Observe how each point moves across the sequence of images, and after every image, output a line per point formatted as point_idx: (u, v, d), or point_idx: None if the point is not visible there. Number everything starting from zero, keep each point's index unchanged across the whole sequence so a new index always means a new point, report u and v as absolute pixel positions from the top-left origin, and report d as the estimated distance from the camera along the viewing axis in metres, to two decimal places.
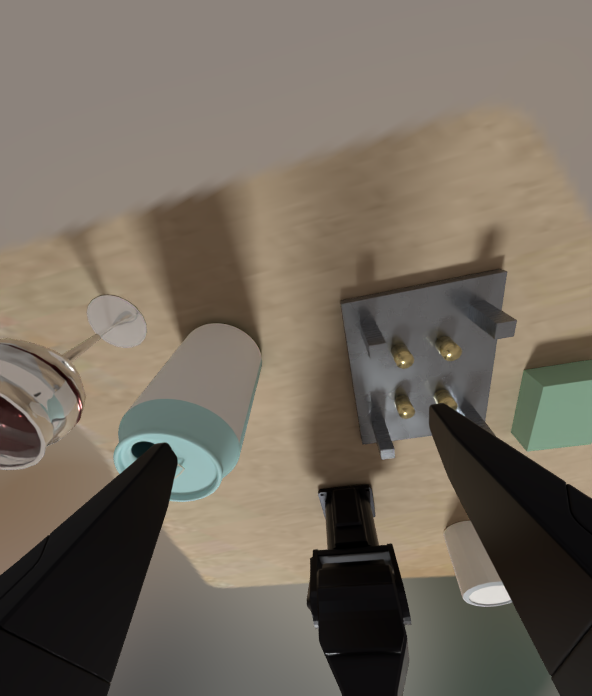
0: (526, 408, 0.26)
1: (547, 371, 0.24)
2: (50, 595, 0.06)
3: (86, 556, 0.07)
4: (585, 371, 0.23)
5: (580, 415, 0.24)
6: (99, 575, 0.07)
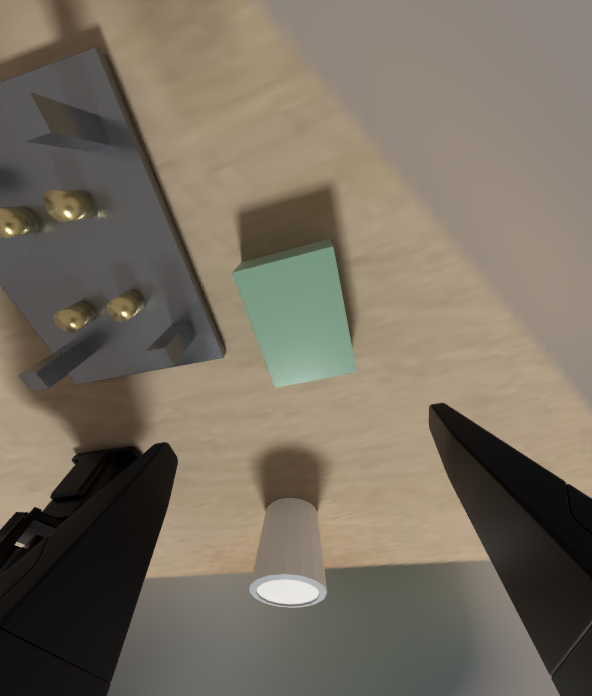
0: None
1: (263, 258, 0.16)
2: (50, 595, 0.06)
3: (85, 555, 0.07)
4: (303, 250, 0.15)
5: (315, 323, 0.16)
6: (99, 575, 0.07)
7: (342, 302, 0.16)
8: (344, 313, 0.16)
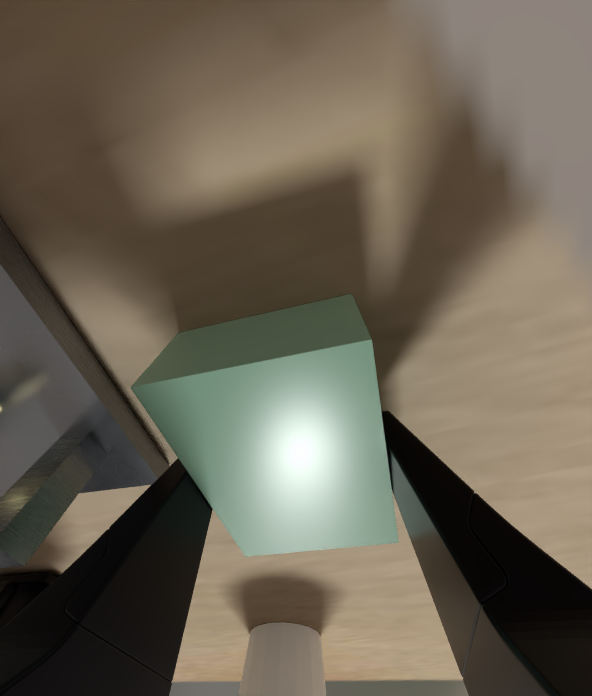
0: None
1: (214, 338, 0.08)
2: (120, 591, 0.06)
3: (146, 550, 0.06)
4: (298, 331, 0.07)
5: (322, 475, 0.08)
6: (160, 571, 0.07)
7: (382, 444, 0.07)
8: (385, 461, 0.07)
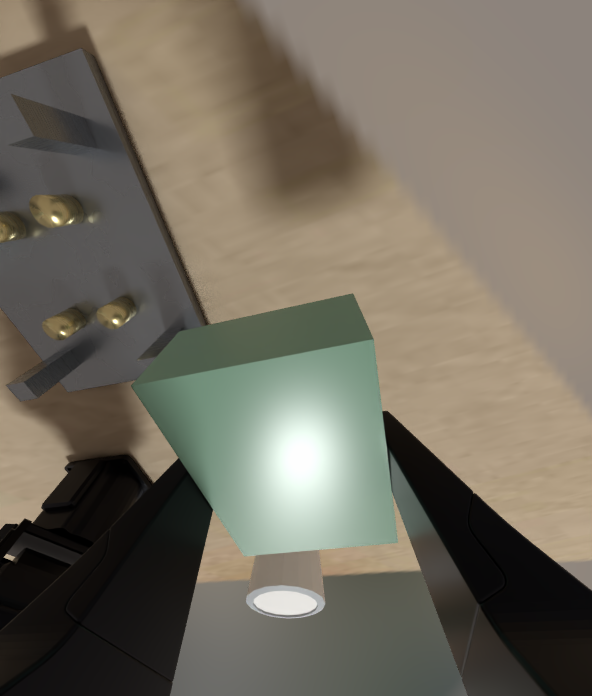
0: None
1: (214, 336, 0.08)
2: (121, 590, 0.06)
3: (147, 550, 0.06)
4: (299, 331, 0.07)
5: (322, 475, 0.08)
6: (160, 570, 0.07)
7: (383, 444, 0.07)
8: (385, 461, 0.07)
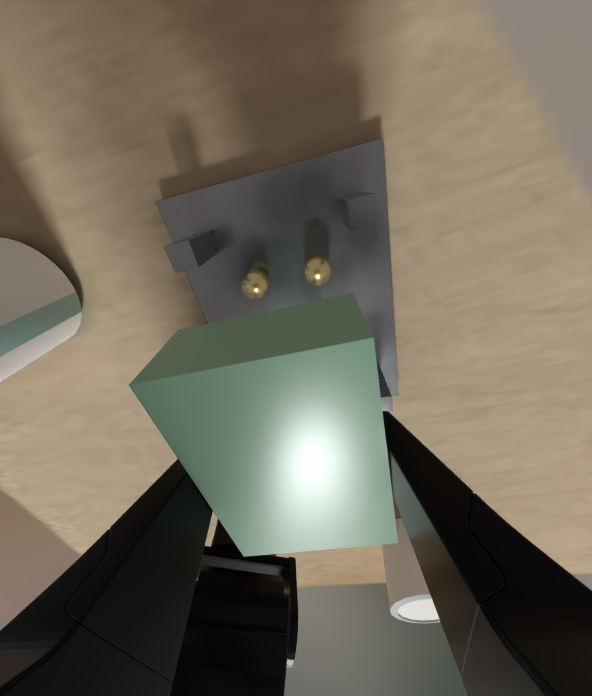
0: None
1: (213, 335, 0.08)
2: (121, 590, 0.06)
3: (148, 550, 0.06)
4: (298, 329, 0.07)
5: (321, 475, 0.08)
6: (160, 570, 0.07)
7: (383, 443, 0.07)
8: (385, 461, 0.07)
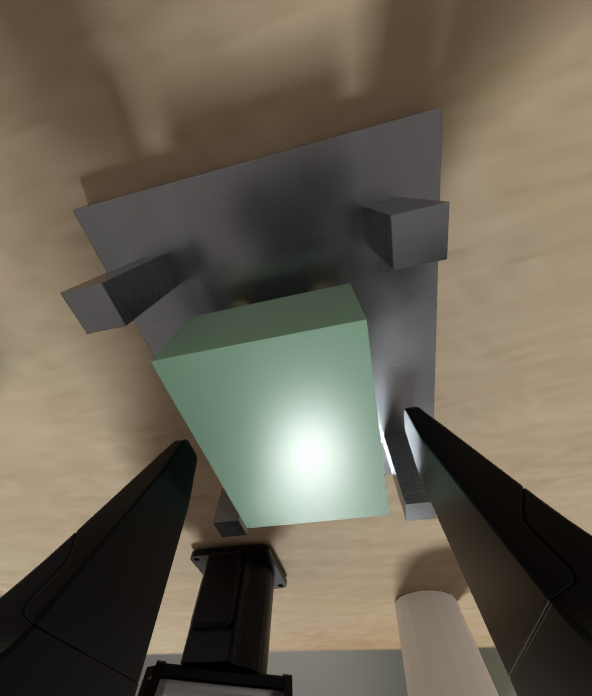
0: None
1: (223, 321, 0.08)
2: (81, 593, 0.06)
3: (113, 553, 0.07)
4: (301, 314, 0.08)
5: (320, 447, 0.09)
6: (126, 573, 0.07)
7: (375, 417, 0.08)
8: (377, 434, 0.08)
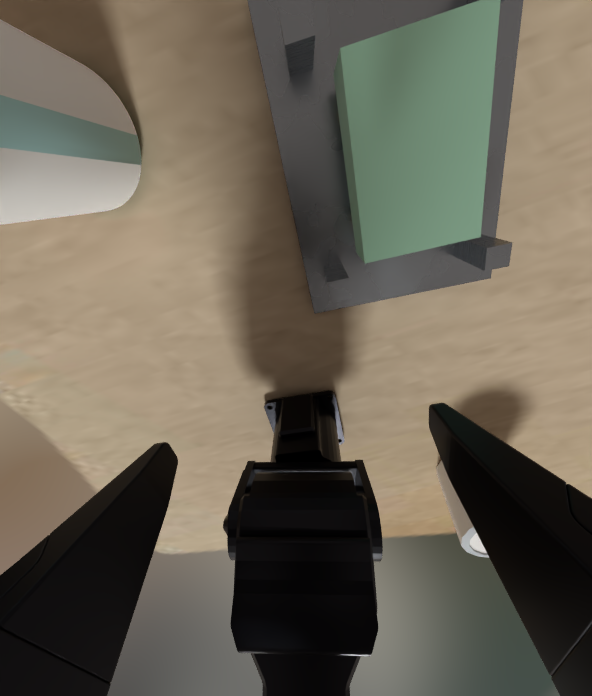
0: (349, 162, 0.13)
1: None
2: (50, 595, 0.06)
3: (85, 556, 0.07)
4: None
5: (442, 148, 0.12)
6: (99, 575, 0.07)
7: (489, 108, 0.11)
8: (487, 129, 0.11)
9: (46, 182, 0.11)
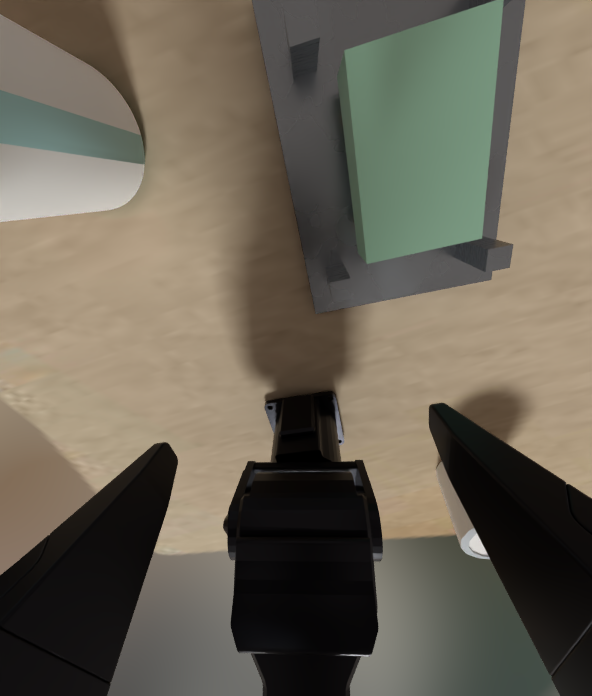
0: (352, 164, 0.13)
1: None
2: (50, 595, 0.06)
3: (86, 556, 0.07)
4: None
5: (445, 150, 0.12)
6: (99, 575, 0.07)
7: (491, 111, 0.11)
8: (489, 132, 0.11)
9: (50, 179, 0.11)
